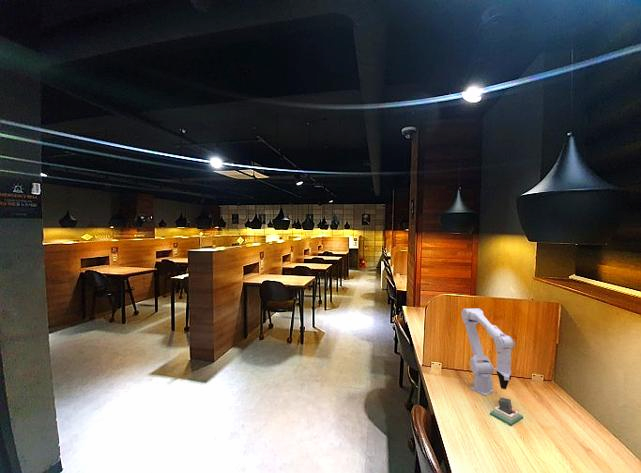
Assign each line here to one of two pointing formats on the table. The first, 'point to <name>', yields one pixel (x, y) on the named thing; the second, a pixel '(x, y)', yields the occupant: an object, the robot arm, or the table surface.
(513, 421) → the board
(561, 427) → the table surface
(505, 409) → the plug
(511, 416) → the frame
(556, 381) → the table surface
